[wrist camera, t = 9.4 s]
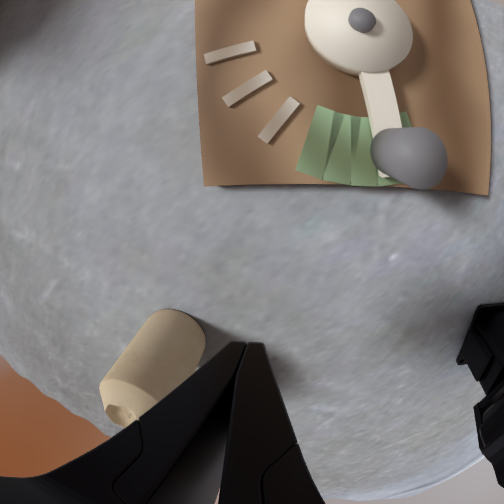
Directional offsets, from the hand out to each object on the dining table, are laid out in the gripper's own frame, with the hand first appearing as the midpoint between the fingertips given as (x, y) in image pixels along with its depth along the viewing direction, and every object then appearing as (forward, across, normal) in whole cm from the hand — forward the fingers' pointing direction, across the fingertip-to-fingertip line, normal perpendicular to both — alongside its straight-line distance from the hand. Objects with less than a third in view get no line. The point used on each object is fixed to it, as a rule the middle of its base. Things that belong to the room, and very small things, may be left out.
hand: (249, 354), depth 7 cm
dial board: (+12, -5, -12) cm, 18 cm away
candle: (+13, +9, +10) cm, 19 cm away
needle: (+11, -6, -9) cm, 15 cm away
